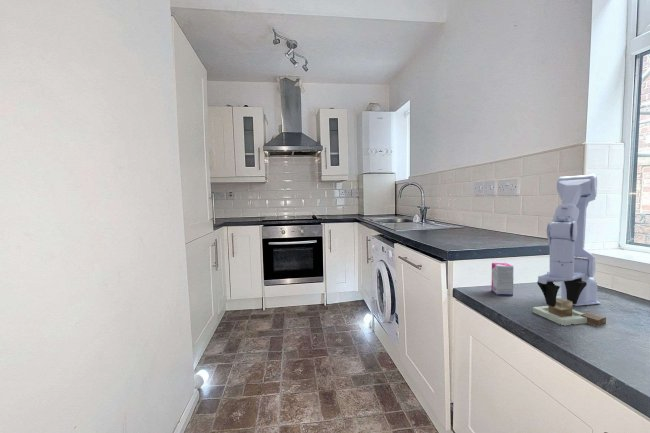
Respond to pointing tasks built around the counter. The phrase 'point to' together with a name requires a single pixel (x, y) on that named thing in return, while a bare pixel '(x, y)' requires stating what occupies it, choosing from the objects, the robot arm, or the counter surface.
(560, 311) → the tan cube
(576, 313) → the base plate
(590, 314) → the walnut brick
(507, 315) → the counter surface
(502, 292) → the supplement box
